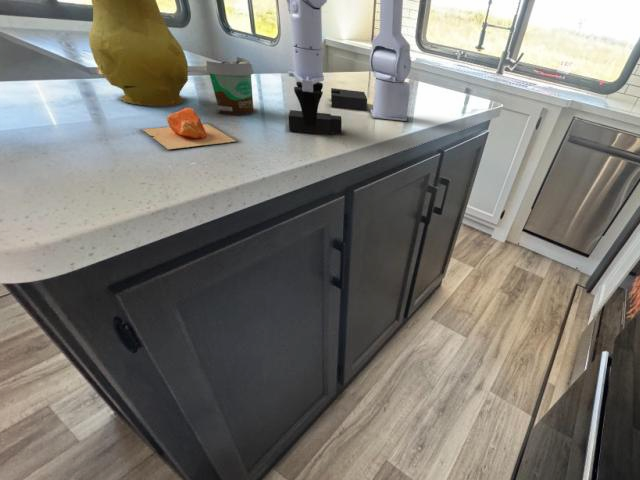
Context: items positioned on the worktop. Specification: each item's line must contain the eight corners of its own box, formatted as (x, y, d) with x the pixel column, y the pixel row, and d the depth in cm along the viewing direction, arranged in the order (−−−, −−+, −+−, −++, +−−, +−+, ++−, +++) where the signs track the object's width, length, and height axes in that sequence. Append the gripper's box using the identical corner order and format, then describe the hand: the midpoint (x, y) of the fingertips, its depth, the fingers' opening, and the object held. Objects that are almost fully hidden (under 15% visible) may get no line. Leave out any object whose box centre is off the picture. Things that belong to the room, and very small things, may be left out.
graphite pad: (363, 103, 104) (364, 91, 102) (366, 110, 97) (367, 99, 95) (331, 99, 102) (331, 88, 100) (331, 107, 95) (331, 95, 93)
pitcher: (97, 105, 69) (33, -72, 53) (118, 90, 82) (72, -55, 67) (193, 112, 75) (160, -45, 60) (198, 97, 88) (172, -34, 73)
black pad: (340, 128, 79) (340, 114, 77) (341, 135, 75) (341, 120, 74) (291, 124, 77) (290, 109, 75) (289, 130, 73) (288, 115, 71)
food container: (241, 119, 75) (232, 66, 69) (215, 114, 75) (204, 61, 69) (268, 109, 84) (262, 61, 78) (245, 104, 85) (238, 56, 78)
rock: (168, 150, 57) (160, 123, 54) (142, 130, 62) (132, 104, 60) (236, 141, 64) (232, 117, 61) (207, 123, 70) (202, 100, 67)
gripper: (289, 41, 71) (294, 112, 79) (283, 48, 60) (289, 130, 69) (323, 45, 72) (324, 115, 81) (323, 54, 61) (324, 133, 70)
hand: (310, 122), depth 75 cm, fingers closed on black pad, 5 cm apart
